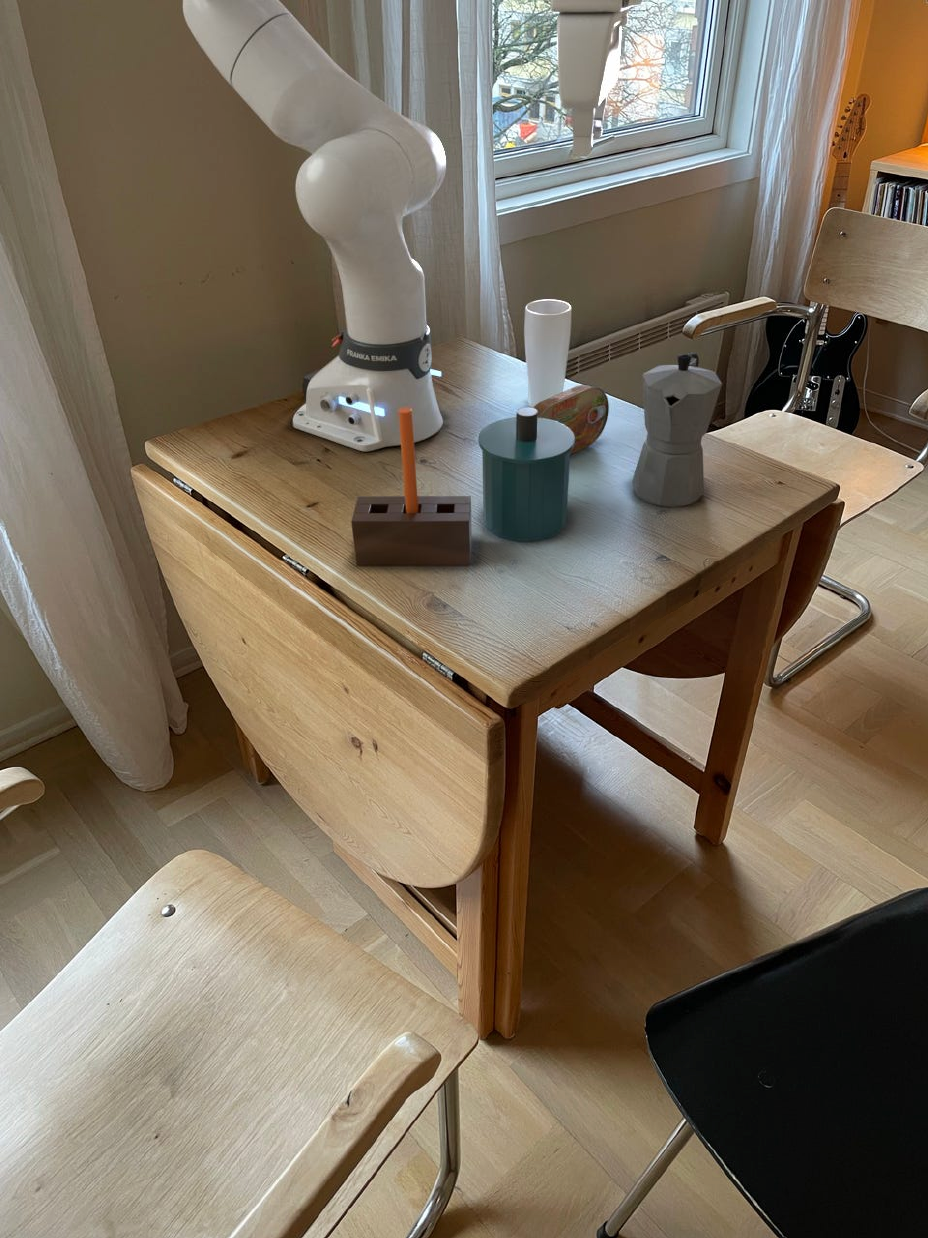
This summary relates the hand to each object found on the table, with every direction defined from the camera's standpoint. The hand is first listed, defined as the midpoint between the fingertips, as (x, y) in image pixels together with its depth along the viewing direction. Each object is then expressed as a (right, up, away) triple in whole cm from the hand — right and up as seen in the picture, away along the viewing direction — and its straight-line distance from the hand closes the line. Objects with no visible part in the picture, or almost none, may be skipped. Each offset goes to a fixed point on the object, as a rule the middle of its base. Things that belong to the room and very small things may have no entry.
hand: (588, 145), depth 93 cm
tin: (+1, -26, +31) cm, 41 cm away
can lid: (-6, -29, +11) cm, 31 cm away
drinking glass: (-1, -17, +43) cm, 47 cm away
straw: (-19, -42, +12) cm, 47 cm away
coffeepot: (+14, -32, +23) cm, 42 cm away
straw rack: (-19, -42, +12) cm, 47 cm away
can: (-5, -37, +17) cm, 41 cm away
